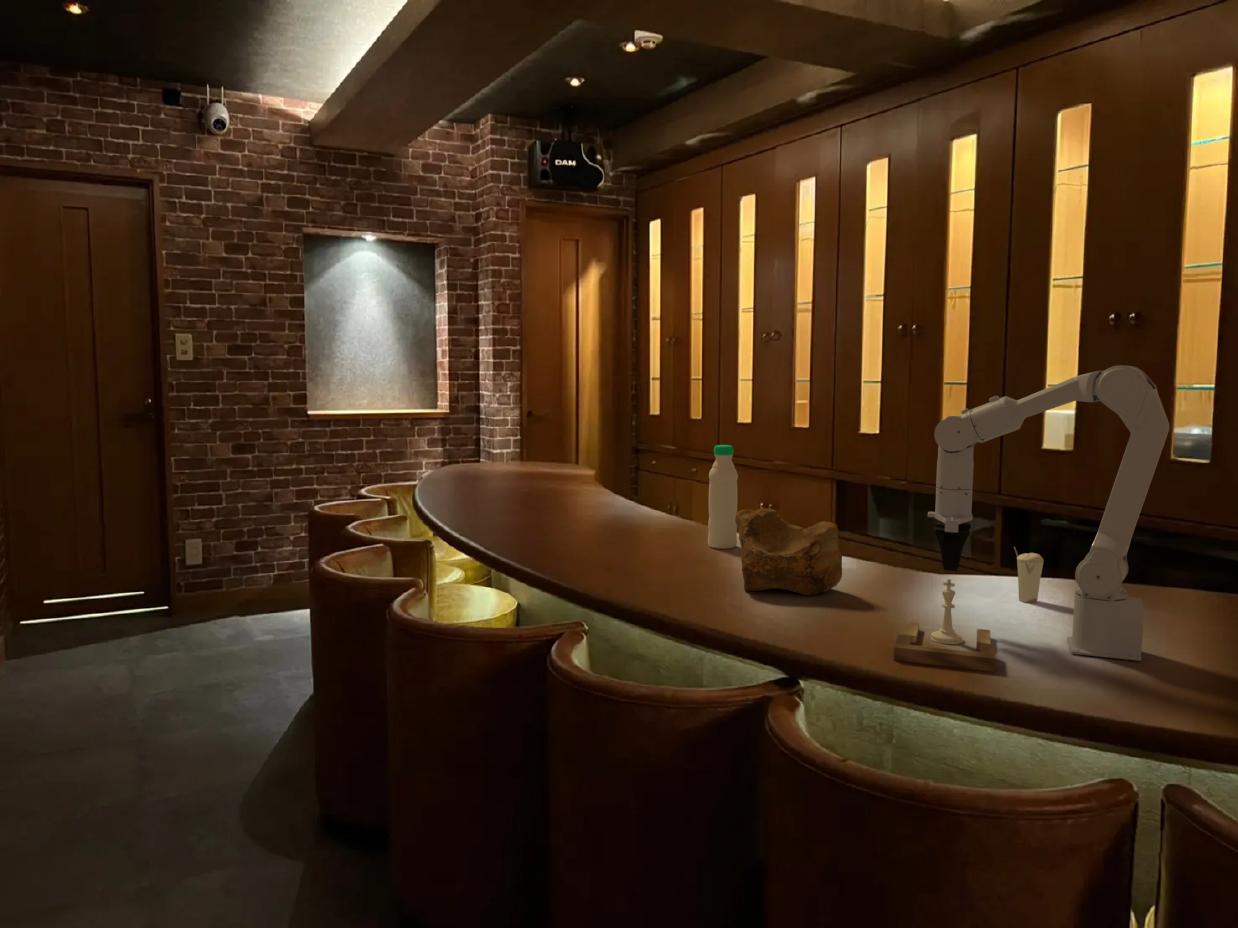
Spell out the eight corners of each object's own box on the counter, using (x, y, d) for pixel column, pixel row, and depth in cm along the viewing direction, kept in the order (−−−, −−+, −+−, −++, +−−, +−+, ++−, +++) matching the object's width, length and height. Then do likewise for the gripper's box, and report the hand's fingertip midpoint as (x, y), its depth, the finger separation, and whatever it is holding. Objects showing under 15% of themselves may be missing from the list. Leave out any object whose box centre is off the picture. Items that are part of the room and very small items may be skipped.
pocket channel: (989, 637, 146) (990, 630, 146) (990, 651, 139) (990, 643, 139) (906, 628, 151) (906, 621, 151) (902, 641, 144) (902, 634, 144)
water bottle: (741, 545, 222) (743, 445, 219) (729, 550, 216) (730, 447, 213) (715, 542, 225) (717, 443, 223) (702, 547, 219) (704, 445, 217)
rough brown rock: (702, 590, 180) (702, 518, 177) (747, 569, 193) (747, 502, 190) (805, 615, 165) (806, 536, 162) (847, 590, 178) (849, 517, 175)
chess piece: (937, 633, 149) (939, 574, 147) (967, 639, 145) (969, 578, 144) (925, 640, 145) (928, 579, 144) (956, 646, 142) (959, 584, 141)
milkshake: (1016, 595, 173) (1018, 544, 172) (1045, 600, 169) (1047, 548, 168) (1006, 599, 170) (1009, 548, 169) (1035, 605, 166) (1038, 552, 165)
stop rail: (993, 657, 136) (994, 644, 136) (994, 672, 130) (995, 658, 129) (897, 646, 141) (898, 634, 141) (893, 660, 135) (894, 647, 135)
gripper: (931, 481, 158) (928, 557, 160) (926, 492, 145) (923, 574, 146) (974, 483, 155) (970, 560, 157) (973, 494, 142) (969, 578, 144)
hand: (950, 567), depth 151 cm, fingers open, 4 cm apart
